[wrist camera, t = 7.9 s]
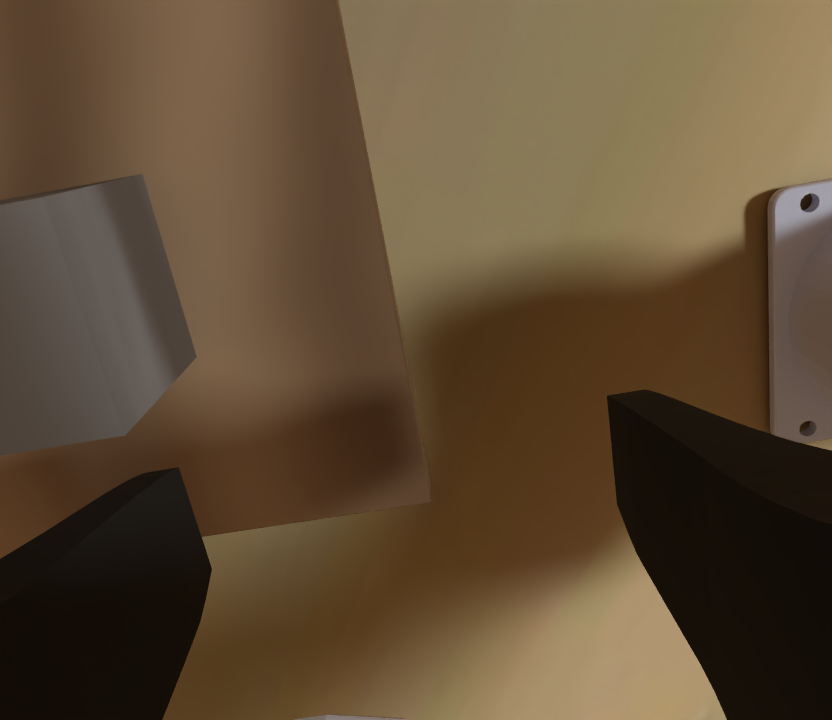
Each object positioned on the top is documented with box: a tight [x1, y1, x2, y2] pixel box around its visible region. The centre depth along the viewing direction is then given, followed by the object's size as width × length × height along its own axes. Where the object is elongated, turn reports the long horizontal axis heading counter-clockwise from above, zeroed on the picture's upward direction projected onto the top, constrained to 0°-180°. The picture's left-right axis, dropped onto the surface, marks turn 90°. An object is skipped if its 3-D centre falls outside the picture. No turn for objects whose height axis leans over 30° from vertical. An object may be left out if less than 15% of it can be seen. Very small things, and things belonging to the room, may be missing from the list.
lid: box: [0, 0, 431, 559], centre depth 14 cm, size 13×13×5 cm
